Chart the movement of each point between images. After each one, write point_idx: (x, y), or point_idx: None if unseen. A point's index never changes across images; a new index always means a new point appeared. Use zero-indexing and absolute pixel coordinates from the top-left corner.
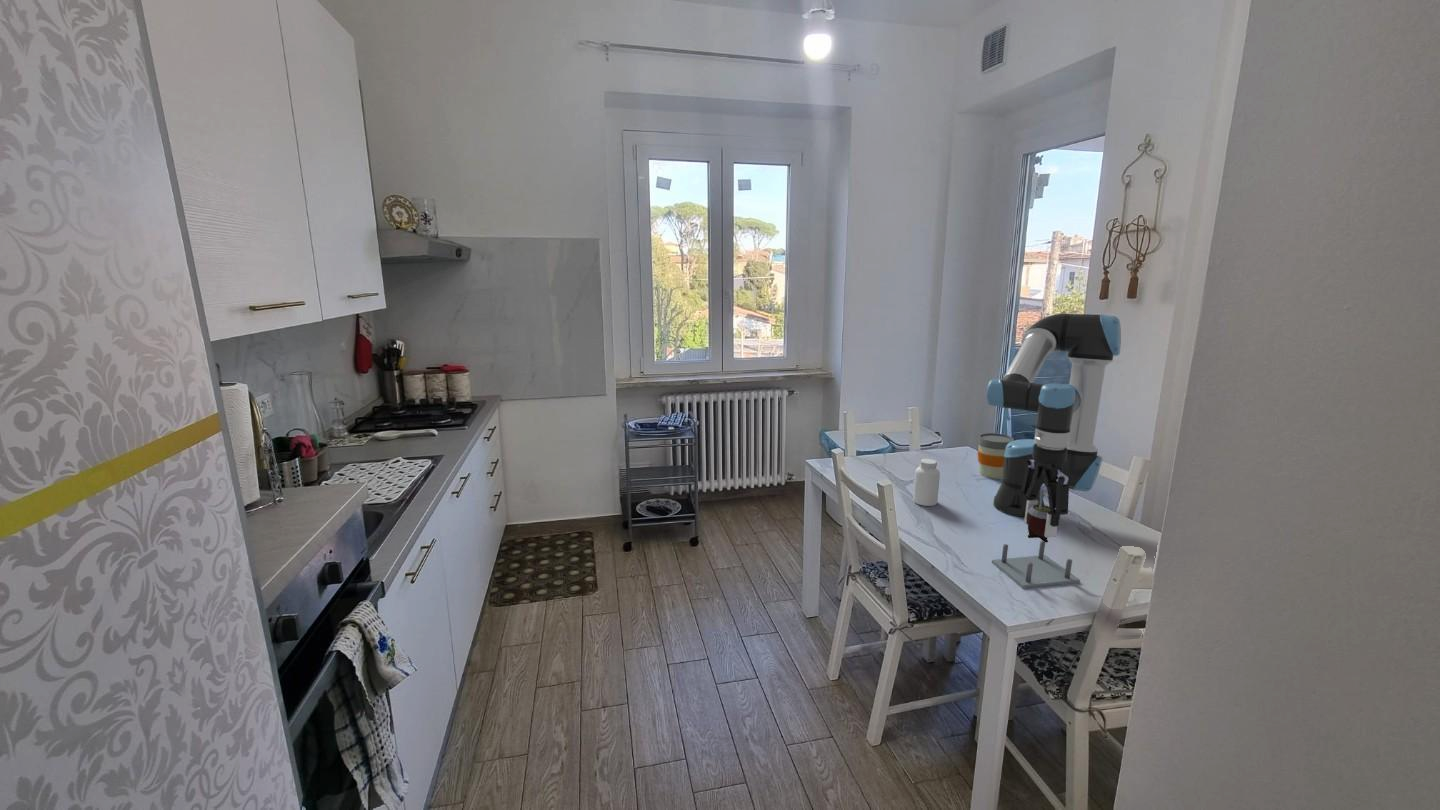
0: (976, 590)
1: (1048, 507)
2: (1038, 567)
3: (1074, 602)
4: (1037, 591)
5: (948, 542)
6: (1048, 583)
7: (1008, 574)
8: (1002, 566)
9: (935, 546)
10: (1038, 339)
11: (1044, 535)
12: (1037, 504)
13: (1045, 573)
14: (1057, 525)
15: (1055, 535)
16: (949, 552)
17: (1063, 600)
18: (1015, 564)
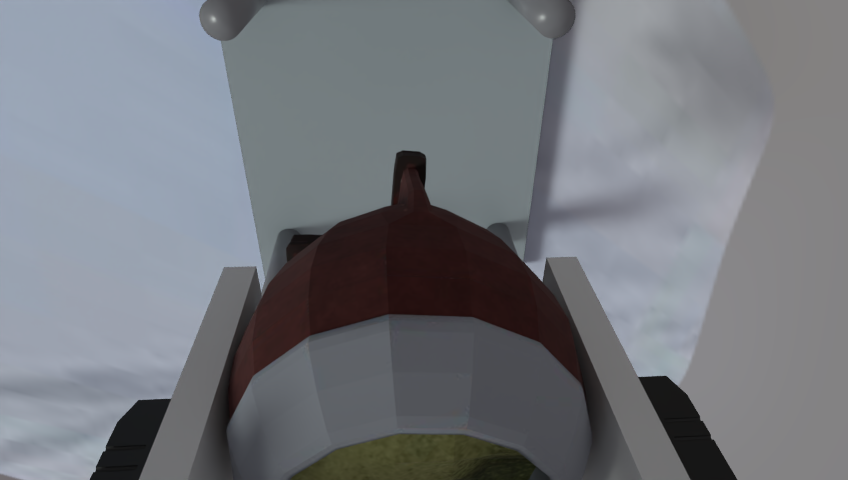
0: None
1: (359, 431)
2: (373, 90)
3: (704, 110)
4: (561, 218)
5: (46, 358)
6: (537, 142)
7: None
8: None
9: (104, 416)
10: None
11: None
12: (191, 473)
13: (447, 96)
14: (673, 394)
15: (579, 270)
16: (163, 389)
17: (668, 151)
18: (323, 198)
